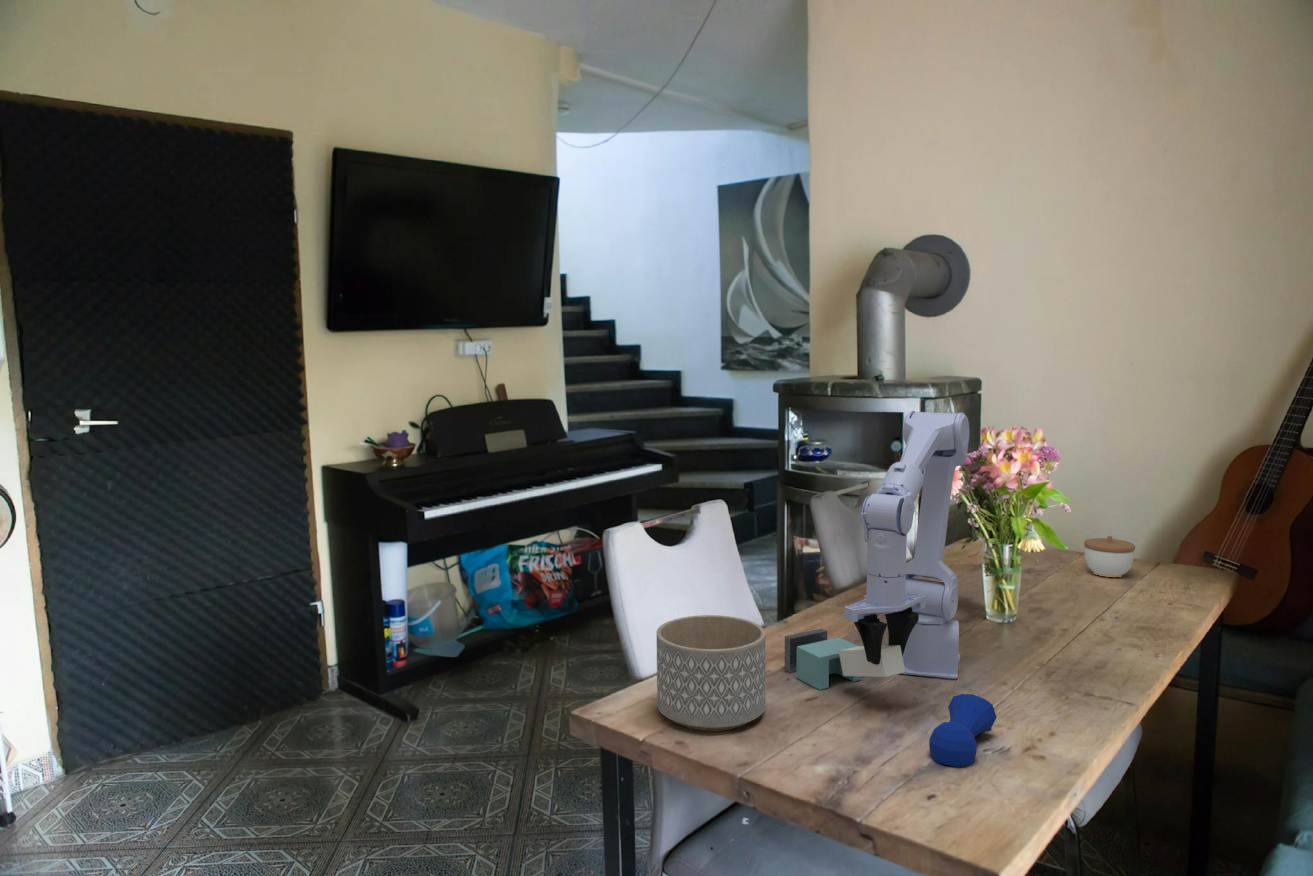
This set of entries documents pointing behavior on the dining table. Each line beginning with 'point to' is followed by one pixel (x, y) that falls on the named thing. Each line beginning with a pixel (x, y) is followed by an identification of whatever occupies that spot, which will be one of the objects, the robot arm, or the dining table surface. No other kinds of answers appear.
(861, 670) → the peg
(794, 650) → the wall
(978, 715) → the toy
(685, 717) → the planter
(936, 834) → the dining table surface
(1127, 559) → the lidded jar
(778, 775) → the dining table surface
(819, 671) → the block
